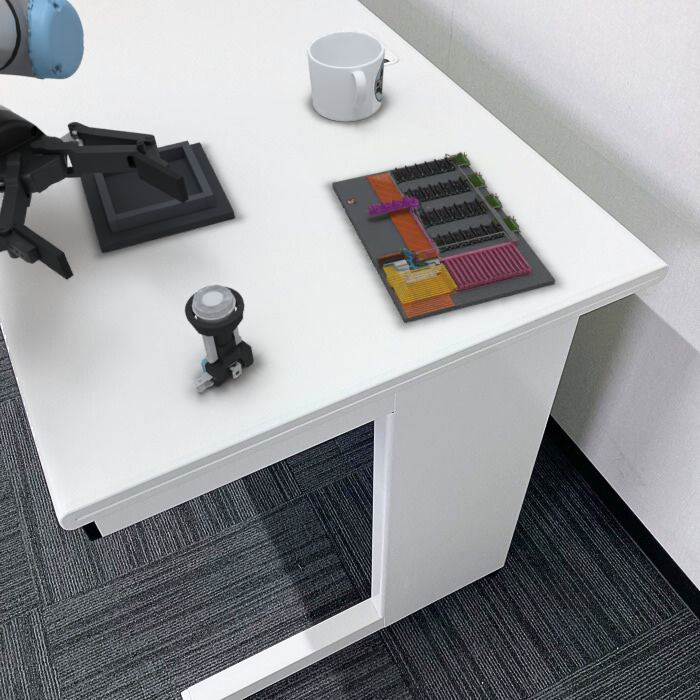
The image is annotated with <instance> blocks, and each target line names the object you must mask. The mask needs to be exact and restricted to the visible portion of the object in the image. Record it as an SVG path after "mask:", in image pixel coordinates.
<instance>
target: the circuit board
mask: <svg viewBox="0 0 700 700" xmlns="http://www.w3.org/2000/svg"><path fill="white" fill-rule="evenodd" d="M331 184H332V189H333V191H334V192H335V195H336V196H337V198H338V200H339V201H340V204H341V206H342V208H343V209H344V212H345V213H346V215H347V217H348V219H349V220H350V223H351V225H352V226H353V228H354V230H355V232H356V234H357V235H358V236H357V237H359V240H360V241H361V243H362V245H363V247H364V249H365V251H366V253H367V255H368V256H369V258H370V261H371V262H372V264H373V265H374V268H375V270H376V272H377V273H378V275H379V277H380V279H381V281H382V283H383V285H384V287H385V288H386V291H387V293H388V295H389V296H390V298H391V300H392V302H393V304H394V305H395V308H396V309H397V312H398V313H399V315H400V317H401V319H402V321H403V322H404V324H407V323H411V322H413V321H414V322H415V321H419V320H421V319H426V318H429V317H434V316H436V315H440V314H444V313H448V312H452V311H455V310H460V309H464V308H468V307H470V306H471V307H472V306H475V305H479V304H483V303H487V302H491V301H494V300H497V299H502V298H505V297H509V296H514V295H517V294H521V293H525V292H529V291H533V290H536V289H540V288H544V287H548V286H551V285H555V284H556V279H555V278H554V276H553V275H552V274H551V272H550V270H549V269H548V268H547V267H546V266H545V264H544V263H543V261H542V260H541V259H540V258H539V256H538V255H537V253H536V252H535V251H534V249H533V248H532V247H531V246H530V244H529V243H528V242H527V241H529V240H526V239H525V238H524V236H523V235H522V234H521V233H522V231H521V230H520V225H519V224H518V222H517V218H515V216H514V215H512V217H511V215H507V214H506V213H505V211H504V210H503V208H504V207H503V203H502V202H501V200H500V199H499V195H497V192H495V193H492V192H491V193H490V192H489V190H488V188H489V186H488V184H486V180H485V179H484V178H483V174H481V171H479V172H477V171H475V172H474V170H473V169H472V168H471V161H470V160H469V158H468V154H466V152H465V151H464V152H462V151H460V152H458V153H456V154H452V155H450V154H448V153H445V155H444V157H443V158H440V159H436V158H434V159H433V160H431V161H426V160H425V161H424V162H422V163H418V164H417V162H415V163H414V164H412V165H404V166H403V167H398V168H397V167H394V169H389V170H385V171H381V172H380V171H379V172H375V173H371V174H366V175H361V176H357V177H352V178H348V179H343V180H338V181H334V182H331Z"/></svg>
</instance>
